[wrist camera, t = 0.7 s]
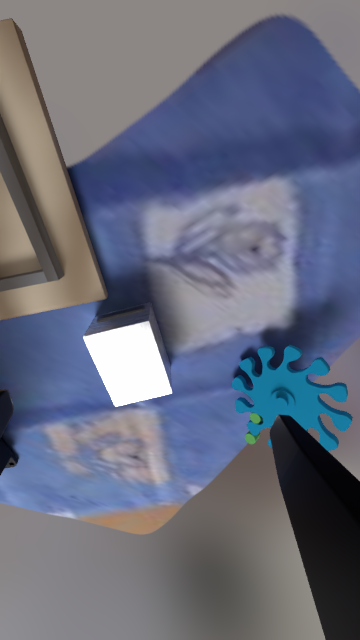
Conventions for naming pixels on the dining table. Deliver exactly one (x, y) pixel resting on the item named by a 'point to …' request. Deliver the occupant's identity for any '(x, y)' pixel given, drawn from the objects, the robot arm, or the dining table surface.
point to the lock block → (130, 354)
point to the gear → (289, 396)
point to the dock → (37, 199)
